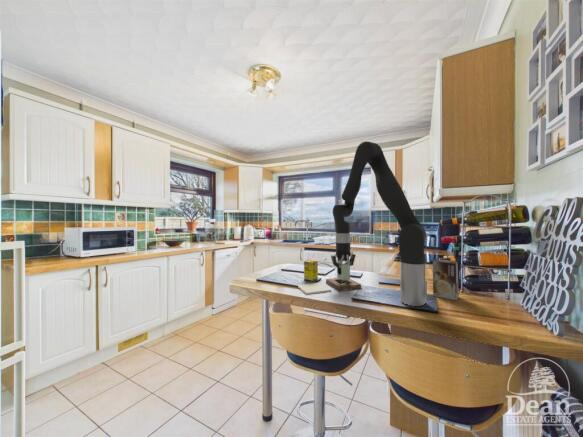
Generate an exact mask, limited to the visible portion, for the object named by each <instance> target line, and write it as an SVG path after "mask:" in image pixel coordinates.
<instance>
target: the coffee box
mask: <svg viewBox="0 0 583 437" xmlns="http://www.w3.org/2000/svg"><path fill="white" fill-rule="evenodd" d="M432 297H438V298H441V299H442V298H443V299H447V300H451V301H452V300H453V301H457V300H458V299H459V261H454V260H445V259H434V260H433V261H432Z"/></svg>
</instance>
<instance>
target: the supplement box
mask: <svg viewBox="0 0 583 437" xmlns="http://www.w3.org/2000/svg"><path fill="white" fill-rule="evenodd" d="M318 262H319V261H318V260H315V259H314V260H313V259H308V260H305V261H303V280H304V281H306V280H308V281H307V282H311V281H313V282H315V281H318V280H319V277H318V276H319V275H318V274H319V273H318V271H319V268H318V267H319V266H318V265H319V264H318ZM317 279H318V280H317ZM314 280H315V281H314Z"/></svg>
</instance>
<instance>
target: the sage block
mask: <svg viewBox="0 0 583 437" xmlns="http://www.w3.org/2000/svg"><path fill="white" fill-rule="evenodd" d="M336 273H337V272H336ZM336 278H339V279H341V280H350V279H351V266H350V264H347V263H345V261H343V262H342V264H341V275H339V274H338V273H337V277H336Z"/></svg>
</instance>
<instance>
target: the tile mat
mask: <svg viewBox="0 0 583 437" xmlns="http://www.w3.org/2000/svg"><path fill="white" fill-rule="evenodd" d="M297 286H298V287H297ZM296 287H297V288H298V289H299V290H301V291H302V292H303V293H304V294H305V295H313V294H320V293H321V294H323V293H330V292H332V290H331V288H330V287H328V286H326V285H324V284H323V283H322V282H320V281H319V282H311V283H304V284H303V283H301V284H297V285H296Z"/></svg>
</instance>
